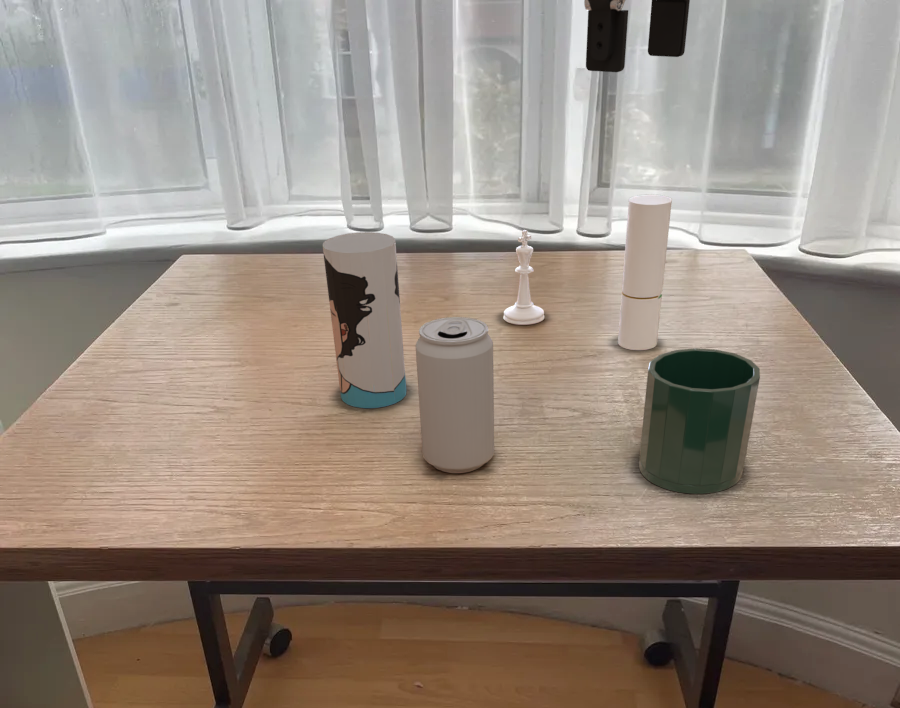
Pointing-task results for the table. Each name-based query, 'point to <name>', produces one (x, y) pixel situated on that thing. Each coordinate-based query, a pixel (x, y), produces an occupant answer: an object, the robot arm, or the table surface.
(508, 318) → the chess piece
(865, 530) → the table surface
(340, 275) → the cup
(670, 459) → the cup
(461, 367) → the beverage can
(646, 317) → the tube
